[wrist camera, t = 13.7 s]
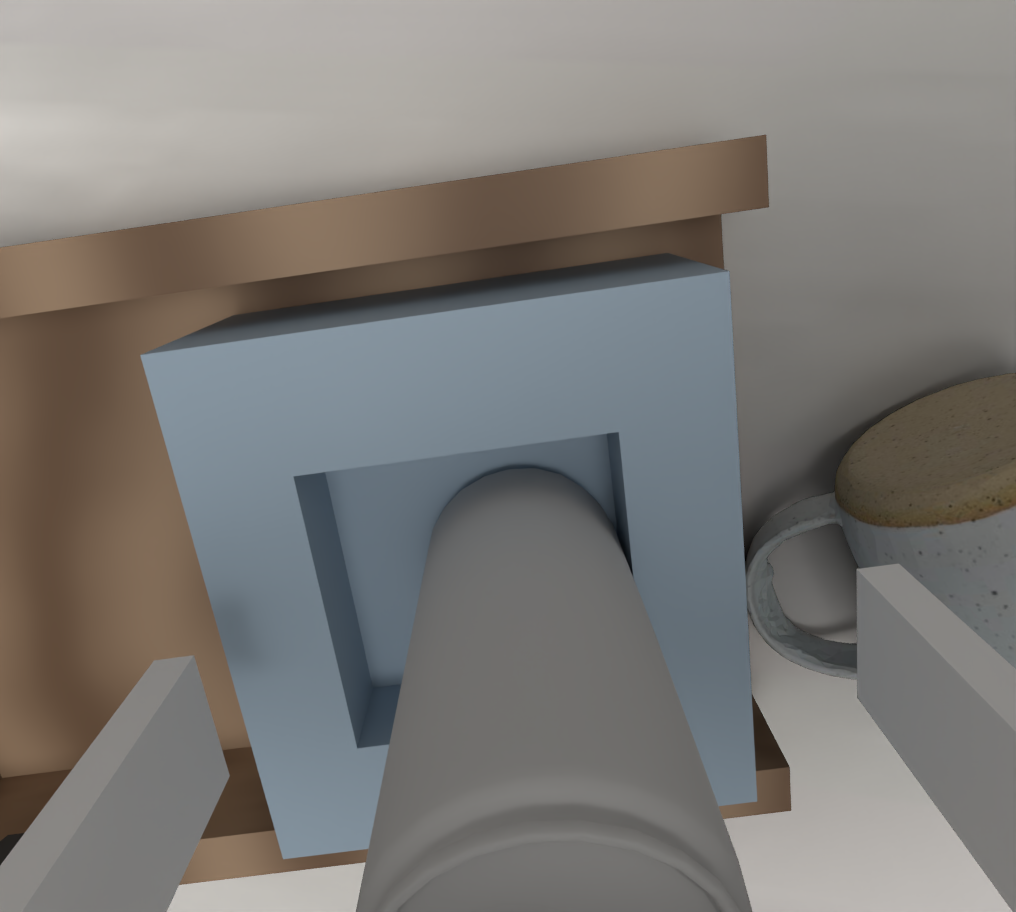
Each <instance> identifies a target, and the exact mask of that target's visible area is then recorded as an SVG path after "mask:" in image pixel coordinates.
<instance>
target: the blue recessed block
mask: <svg viewBox="0 0 1016 912" xmlns="http://www.w3.org/2000/svg"><path fill="white" fill-rule="evenodd" d="M140 356H141V360H142V363H143V367H144V370H145V374H146V377H147V381H148V384H149V388H150V391H151V395H152V398H153V402H154V405H155V409H156V413H157V416H158V420H159V423H160V427H161V430H162V434H163V437H164V441H165V444H166V448H167V451H168V455H169V458H170V462H171V465H172V469H173V472H174V476H175V480H176V483H177V487H178V490H179V494H180V497H181V501H182V504H183V508H184V511H185V515H186V518H187V522H188V525H189V529H190V532H191V536H192V539H193V543H194V547H195V550H196V554H197V557H198V561H199V564H200V568H201V571H202V575H203V578H204V582H205V585H206V589H207V592H208V596H209V599H210V603H211V606H212V610H213V613H214V617H215V621H216V624H217V628H218V631H219V635H220V638H221V642H222V645H223V649H224V652H225V656H226V659H227V663H228V666H229V670H230V673H231V677H232V680H233V684H234V688H235V691H236V695H237V698H238V702H239V705H240V709H241V712H242V716H243V719H244V723H245V726H246V730H247V733H248V737H249V740H250V744H251V747H252V751H253V755H254V758H255V762H256V765H257V769H258V772H259V776H260V779H261V783H262V786H263V790H264V793H265V797H266V800H267V804H268V807H269V811H270V814H271V818H272V822H273V825H274V829H275V832H276V836H277V839H278V843H279V846H280V850H281V853H282V857H283V859H289V858H297V857H305V856H314V855H322V854H330V853H338V852H346V851H355V850H363V849H369V844H370V839H371V834H372V829H373V824H374V819H375V814H376V809H377V804H378V799H379V794H380V789H381V784H382V779H383V774H384V769H385V764H386V759H387V754H388V749H389V744H390V739H391V734H392V729H393V724H394V719H395V714H396V709H397V704H398V699H399V694H400V689H401V684H402V679H403V674H404V669H405V664H406V659H407V654H408V649H409V644H410V639H411V634H412V629H413V624H414V619H415V614H416V609H417V604H418V599H419V594H420V589H421V584H422V579H423V574H424V569H425V564H426V559H427V554H428V549H429V544H430V540H431V535H432V531H433V528H434V526H435V524H436V522H437V520H438V519H439V517H440V515H441V513H442V511H443V509H444V508H445V507H446V505H447V504H448V503H449V502H450V501H451V500H452V499H453V498H454V497H455V496H456V495H457V494H458V493H459V492H460V491H461V490H462V489H464V488H465V487H467V486H469V485H471V484H472V483H474V482H476V481H477V480H479V479H481V478H482V477H484V476H487V475H491V474H494V473H497V472H501V471H504V470H508V469H525V468H537V469H541V470H545V471H549V472H553V473H557V474H561V475H563V476H564V477H566V478H568V479H569V480H571V481H573V482H574V483H576V484H578V485H579V486H581V487H583V488H584V489H585V490H586V491H587V492H588V493H589V494H590V495H591V496H592V497H593V498H594V499H595V500H596V501H597V502H598V503H599V504H600V505H601V507H602V508H603V510H604V512H605V513H606V515H607V516H608V518H609V520H610V521H611V523H612V524H613V526H614V529H615V531H616V534H617V537H618V539H619V542H620V545H621V547H622V550H623V552H624V555H625V558H626V560H627V563H628V565H629V568H630V571H631V573H632V576H633V578H634V581H635V583H636V586H637V588H638V591H639V593H640V596H641V599H642V601H643V604H644V606H645V609H646V611H647V614H648V617H649V619H650V622H651V624H652V627H653V630H654V632H655V635H656V637H657V640H658V643H659V645H660V648H661V651H662V654H663V656H664V659H665V662H666V664H667V667H668V670H669V672H670V675H671V678H672V680H673V683H674V686H675V689H676V691H677V694H678V697H679V700H680V702H681V705H682V708H683V711H684V713H685V716H686V719H687V721H688V724H689V727H690V730H691V732H692V735H693V738H694V741H695V743H696V746H697V749H698V752H699V754H700V757H701V760H702V763H703V765H704V768H705V771H706V774H707V776H708V779H709V782H710V784H711V787H712V790H713V793H714V795H715V798H716V801H717V804H718V806H724V805H733V804H741V803H749V802H757V786H756V767H755V748H754V729H753V710H752V691H751V672H750V653H749V634H748V615H747V596H746V577H745V558H744V539H743V520H742V501H741V482H740V463H739V444H738V425H737V406H736V387H735V368H734V349H733V330H732V311H731V292H730V273H729V271H727V270H724V269H720V268H717V267H714V266H710V265H707V264H704V263H700V262H697V261H693V260H690V259H687V258H683V257H680V256H677V255H673V254H670V253H663V254H656V255H649V256H643V257H636V258H629V259H622V260H615V261H608V262H601V263H594V264H587V265H580V266H573V267H566V268H559V269H552V270H545V271H538V272H531V273H524V274H517V275H510V276H503V277H496V278H489V279H482V280H475V281H468V282H461V283H454V284H447V285H440V286H433V287H426V288H419V289H412V290H405V291H398V292H391V293H384V294H377V295H370V296H363V297H356V298H349V299H342V300H336V301H329V302H322V303H315V304H308V305H301V306H294V307H287V308H280V309H273V310H266V311H259V312H252V313H245V314H238V315H233V316H230V317H228V318H226V319H223V320H221V321H219V322H216V323H214V324H212V325H209V326H207V327H205V328H202V329H200V330H198V331H195V332H193V333H191V334H188V335H186V336H184V337H181V338H179V339H177V340H174V341H172V342H170V343H167V344H165V345H163V346H160V347H158V348H156V349H153V350H151V351H149V352H146V353H144V354H142V355H140Z"/></svg>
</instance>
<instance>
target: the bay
mask: <svg viewBox="0 0 1016 912" xmlns="http://www.w3.org/2000/svg"><path fill="white" fill-rule="evenodd" d="M767 207H769V197H768V170H767V143H766V135H761V136H755V137H748V138H741V139H734V140H727V141H721V142H714V143H707V144H700V145H693V146H687V147H680V148H673V149H666V150H660V151H653V152H646V153H639V154H632V155H626V156H619V157H612V158H605V159H598V160H592V161H585V162H578V163H571V164H565V165H558V166H551V167H544V168H537V169H531V170H524V171H517V172H510V173H503V174H497V175H490V176H483V177H476V178H469V179H463V180H456V181H449V182H442V183H436V184H429V185H422V186H415V187H408V188H402V189H395V190H388V191H381V192H374V193H368V194H361V195H354V196H347V197H341V198H334V199H327V200H320V201H313V202H307V203H300V204H293V205H286V206H279V207H273V208H266V209H259V210H252V211H245V212H239V213H232V214H225V215H218V216H212V217H205V218H198V219H191V220H184V221H178V222H171V223H164V224H157V225H150V226H144V227H137V228H130V229H123V230H117V231H110V232H103V233H96V234H89V235H83V236H76V237H69V238H62V239H55V240H49V241H42V242H35V243H28V244H21V245H15V246H8V247H1V248H0V841H1V840H2V839H4V838H5V837H6V836H7V835H12V834H20V833H25V832H26V831H27V829H28V828H29V827H30V825H31V824H32V823H33V821H34V820H35V819H36V817H37V816H38V815H39V813H40V812H41V811H42V809H43V808H44V807H45V805H46V804H47V803H48V801H49V800H50V799H51V797H52V796H53V795H54V793H55V792H56V791H57V789H58V788H59V787H60V785H61V784H62V783H63V781H64V780H65V779H66V777H67V776H68V775H69V773H70V772H71V771H72V769H73V768H74V767H75V765H76V764H77V763H78V761H79V760H80V759H81V757H82V756H83V755H84V753H85V752H86V751H87V749H88V748H89V747H90V745H91V744H92V743H93V741H94V740H95V739H96V737H97V736H98V735H99V733H100V732H101V731H102V729H103V728H104V727H105V725H106V724H107V723H108V721H109V720H110V719H111V717H112V716H113V715H114V713H115V712H116V711H117V709H118V708H119V707H120V705H121V704H122V703H123V701H124V700H125V699H126V697H127V696H128V695H129V693H130V692H131V691H132V689H133V688H134V687H135V685H136V684H137V683H138V681H139V680H140V679H141V677H142V676H143V675H144V673H145V672H146V671H147V669H148V668H149V667H150V665H151V664H152V663H153V661H154V660H162V659H169V658H177V657H185V656H192V655H194V657H195V660H196V664H197V667H198V671H199V674H200V677H201V681H202V684H203V687H204V691H205V694H206V697H207V701H208V704H209V708H210V711H211V714H212V718H213V721H214V724H215V728H216V731H217V734H218V738H219V741H220V745H221V748H222V751H223V755H224V758H225V761H226V765H227V768H228V771H229V775H230V777H229V779H228V781H227V783H226V785H225V787H224V789H223V792H222V794H221V796H220V798H219V800H218V802H217V804H216V807H215V809H214V811H213V813H212V815H211V817H210V819H209V822H208V824H207V826H206V828H205V830H204V832H203V834H202V837H201V839H200V841H199V843H198V845H197V847H196V849H195V852H194V854H193V856H192V858H191V860H190V862H189V864H188V867H187V869H186V871H185V873H184V875H183V877H182V879H181V882H180V884H179V885H182V884H190V883H198V882H206V881H215V880H223V879H231V878H239V877H248V876H256V875H264V874H272V873H281V872H289V871H297V870H305V869H314V868H322V867H330V866H338V865H347V864H355V863H363V862H366V859H367V854H368V849H363V850H355V851H346V852H338V853H330V854H322V855H314V856H305V857H297V858H289V859H283V857H282V853H281V850H280V846H279V843H278V839H277V836H276V832H275V829H274V825H273V822H272V818H271V814H270V811H269V807H268V804H267V800H266V797H265V793H264V790H263V786H262V783H261V779H260V776H259V772H258V769H257V765H256V762H255V758H254V755H253V751H252V747H251V744H250V740H249V737H248V733H247V730H246V726H245V723H244V719H243V716H242V712H241V709H240V705H239V702H238V698H237V695H236V691H235V688H234V684H233V680H232V677H231V673H230V670H229V666H228V663H227V659H226V656H225V652H224V649H223V645H222V642H221V638H220V635H219V631H218V628H217V624H216V621H215V617H214V613H213V610H212V606H211V603H210V599H209V596H208V592H207V589H206V585H205V582H204V578H203V575H202V571H201V568H200V564H199V561H198V557H197V554H196V550H195V547H194V543H193V539H192V536H191V532H190V529H189V525H188V522H187V518H186V515H185V511H184V508H183V504H182V501H181V497H180V494H179V490H178V487H177V483H176V480H175V476H174V472H173V469H172V465H171V462H170V458H169V455H168V451H167V448H166V444H165V441H164V437H163V434H162V430H161V427H160V423H159V420H158V416H157V413H156V409H155V405H154V402H153V398H152V395H151V391H150V388H149V384H148V381H147V377H146V374H145V370H144V367H143V363H142V360H141V356H140V355H142V354H144V353H146V352H149V351H151V350H153V349H156V348H158V347H160V346H163V345H165V344H167V343H170V342H172V341H174V340H177V339H179V338H181V337H184V336H186V335H188V334H191V333H193V332H195V331H198V330H200V329H202V328H205V327H207V326H209V325H212V324H214V323H216V322H219V321H221V320H223V319H226V318H228V317H230V316H233V315H238V314H245V313H252V312H259V311H266V310H273V309H280V308H287V307H294V306H301V305H308V304H315V303H322V302H329V301H336V300H342V299H349V298H356V297H363V296H370V295H377V294H384V293H391V292H398V291H405V290H412V289H419V288H426V287H433V286H440V285H447V284H454V283H461V282H468V281H475V280H482V279H489V278H496V277H503V276H510V275H517V274H524V273H531V272H538V271H545V270H552V269H559V268H566V267H573V266H580V265H587V264H594V263H601V262H608V261H615V260H622V259H629V258H636V257H643V256H649V255H656V254H663V253H670V254H673V255H677V256H680V257H683V258H687V259H690V260H693V261H697V262H700V263H704V264H707V265H710V266H714V267H717V268H720V269H724V261H723V243H722V225H721V214H725V213H732V212H739V211H746V210H753V209H760V208H767ZM752 710H753V729H754V748H755V767H756V786H757V802H749V803H741V804H733V805H724V806H719V809H720V812H721V815H722V817H723V819H726V818H734V817H743V816H751V815H759V814H767V813H776V812H784V811H791V794H790V767H789V765H788V763H787V761H786V759H785V757H784V755H783V753H782V752H781V750H780V748H779V746H778V744H777V742H776V740H775V738H774V736H773V734H772V732H771V730H770V728H769V726H768V724H767V722H766V721H765V719H764V717H763V715H762V713H761V711H760V709H759V707H758V705H757V703H756V701H755V699H754V697H753V695H752Z"/></svg>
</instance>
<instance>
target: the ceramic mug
mask: <svg viewBox="0 0 1016 912" xmlns="http://www.w3.org/2000/svg"><path fill="white" fill-rule="evenodd" d="M835 523H837V524H839V525H840V526H841V527H842V529H843V532H844V534H845V537H846V539H847V542H848V544H849V547H850V549H851V552H852V554H853V556H854V558H855V561H856V563H857V565H858V567H859V569H861V568H868V567H876V566H884V565H892V564H900V565H901V566H902V567H903V568H904V569H905V570H906V571H908V572H909V573H910V574H911V575H912V576H913V577H914V578H915V579H916V580H918V581H919V582H920V583H921V584H922V585H923V586H924V587H925V588H926V589H928V590H929V591H930V592H931V593H932V594H933V595H934V596H935V597H936V598H938V599H939V600H940V601H941V602H942V603H943V604H944V605H945V606H946V607H947V608H949V609H950V610H951V611H952V612H953V613H954V614H955V615H956V616H957V617H959V618H960V619H961V620H962V621H963V622H964V623H965V624H966V625H967V626H969V627H970V628H971V629H972V630H973V631H974V632H975V633H976V634H977V635H979V636H980V637H981V638H982V639H983V640H984V641H985V642H986V643H987V644H989V645H990V646H991V647H992V648H993V649H994V650H995V651H996V652H997V653H999V654H1000V655H1001V656H1002V657H1003V658H1004V659H1005V660H1006V661H1007V662H1008V663H1010V664H1011V665H1012V666H1013V667H1014V668H1015V669H1016V373H1010V374H1004V375H998V376H993V377H987V378H982V379H977V380H973V381H969V382H966V383H962V384H958V385H955V386H952V387H949V388H947V389H944V390H941V391H939V392H936V393H934V394H931V395H929V396H926V397H923V398H921V399H918V400H916V401H914V402H912V403H910V404H908V405H906V406H905V407H903V408H901V409H899V410H897V411H895V412H893V413H892V414H890V415H889V416H887V417H886V418H884V419H883V420H881V421H880V422H878V423H877V424H875V425H874V426H872V427H871V428H869V429H868V430H867V431H866V432H865V433H864V434H863V435H862V436H861V437H860V438H859V439H858V440H857V441H856V442H855V443H854V444H853V445H852V446H851V448H850V449H849V451H848V452H847V453H846V455H845V456H844V458H843V459H842V461H841V463H840V465H839V467H838V469H837V473H836V478H835V491H834V492H833V493H828V494H825V495H821V496H816V497H811V498H807V499H804V500H801V501H799V502H797V503H795V504H794V505H792V506H790V507H788V508H787V509H785V510H783V511H781V512H779V513H778V514H776V515H775V516H774V517H772V518H771V519H770V520H769V521H768V522H766V523H765V524H764V525H763V526H762V527H761V528H760V530H759V531H758V533H757V534H756V535H755V537H754V538H753V541H752V544H751V546H750V549H749V551H748V555H747V561H746V566H745V577H746V596H747V609H748V611H749V614H750V616H751V619H752V621H753V624H754V626H755V627H756V629H757V630H758V632H759V633H760V635H761V636H762V638H763V639H764V640H765V642H766V643H767V644H768V645H769V646H770V647H771V648H772V649H774V650H775V651H776V652H777V653H779V654H780V655H781V656H783V657H785V658H786V659H788V660H790V661H792V662H794V663H796V664H798V665H800V666H802V667H805V668H807V669H810V670H813V671H816V672H820V673H823V674H827V675H830V676H835V677H842V678H848V679H856V680H857V644H856V643H852V644H849V643H841V642H835V641H829V640H825V639H822V638H819V637H816V636H813V635H810V634H808V633H806V632H804V631H802V630H800V629H798V628H796V627H795V626H794V625H792V624H791V622H790V620H789V619H787V618H786V617H785V616H784V615H783V612H782V609H781V607H780V604H779V602H778V599H777V597H776V594H775V592H774V589H773V585H772V581H771V580H772V577H773V575H774V572H773V568H772V566H771V565H770V563H768V562H767V561H768V560H767V557H768V555H769V554H770V553H771V552H772V551H773V550H774V549H775V548H776V547H778V546H779V545H780V544H781V543H782V542H783V541H785V540H787V539H789V538H792V537H794V536H796V535H799V534H801V533H803V532H805V531H807V530H809V529H816V528H818V527H821V526H824V525H826V524H835Z"/></svg>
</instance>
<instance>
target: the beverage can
mask: <svg viewBox="0 0 1016 912" xmlns="http://www.w3.org/2000/svg"><path fill="white" fill-rule="evenodd" d="M356 912H752V908H751V905H750V901H749V897H748V894H747V890H746V886H745V883H744V879H743V875H742V872H741V868H740V865H739V861H738V858H737V856H736V853H735V850H734V847H733V845H732V842H731V839H730V836H729V834H728V831H727V828H726V826H725V823H724V820H723V817H722V815H721V812H720V809H719V806H718V804H717V801H716V798H715V795H714V793H713V790H712V787H711V784H710V782H709V779H708V776H707V774H706V771H705V768H704V765H703V763H702V760H701V757H700V754H699V752H698V749H697V746H696V743H695V741H694V738H693V735H692V732H691V730H690V727H689V724H688V721H687V719H686V716H685V713H684V711H683V708H682V705H681V702H680V700H679V697H678V694H677V691H676V689H675V686H674V683H673V680H672V678H671V675H670V672H669V670H668V667H667V664H666V662H665V659H664V656H663V654H662V651H661V648H660V645H659V643H658V640H657V637H656V635H655V632H654V630H653V627H652V624H651V622H650V619H649V617H648V614H647V611H646V609H645V606H644V604H643V601H642V599H641V596H640V593H639V591H638V588H637V586H636V583H635V581H634V578H633V576H632V573H631V571H630V568H629V565H628V563H627V560H626V558H625V555H624V552H623V550H622V547H621V545H620V542H619V539H618V537H617V534H616V531H615V529H614V526H613V524H612V523H611V521H610V520H609V518H608V516H607V515H606V513H605V512H604V510H603V508H602V507H601V505H600V504H599V503H598V502H597V501H596V500H595V499H594V498H593V497H592V496H591V495H590V494H589V493H588V492H587V491H586V490H585V489H584V488H583V487H581V486H579V485H578V484H576V483H574V482H573V481H571V480H569V479H568V478H566V477H564V476H563V475H561V474H557V473H553V472H549V471H545V470H541V469H537V468H525V469H508V470H504V471H501V472H497V473H494V474H491V475H487V476H484V477H482V478H481V479H479V480H477V481H476V482H474V483H472V484H471V485H469V486H467V487H465V488H464V489H462V490H461V491H460V492H459V493H458V494H457V495H456V496H455V497H454V498H453V499H452V500H451V501H450V502H449V503H448V504H447V505H446V507H445V508H444V509H443V511H442V513H441V515H440V517H439V519H438V520H437V522H436V524H435V526H434V528H433V531H432V535H431V540H430V544H429V549H428V554H427V559H426V564H425V569H424V574H423V579H422V584H421V589H420V594H419V599H418V604H417V609H416V614H415V619H414V624H413V629H412V634H411V639H410V644H409V649H408V654H407V659H406V664H405V669H404V674H403V679H402V684H401V689H400V694H399V699H398V704H397V709H396V714H395V719H394V724H393V729H392V734H391V739H390V744H389V749H388V754H387V759H386V764H385V769H384V774H383V779H382V784H381V789H380V794H379V799H378V804H377V809H376V814H375V819H374V824H373V829H372V834H371V839H370V844H369V849H368V854H367V859H366V864H365V869H364V874H363V879H362V884H361V889H360V894H359V899H358V904H357V909H356Z"/></svg>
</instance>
